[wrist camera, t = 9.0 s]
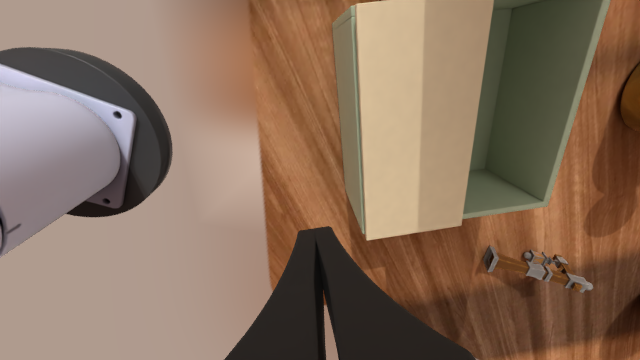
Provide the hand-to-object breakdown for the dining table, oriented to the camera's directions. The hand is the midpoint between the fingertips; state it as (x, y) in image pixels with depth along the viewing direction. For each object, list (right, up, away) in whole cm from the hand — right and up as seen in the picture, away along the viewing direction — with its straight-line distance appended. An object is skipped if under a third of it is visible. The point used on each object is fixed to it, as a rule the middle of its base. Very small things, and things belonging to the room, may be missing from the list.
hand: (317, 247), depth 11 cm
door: (+5, +5, +2) cm, 7 cm away
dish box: (+7, +8, +8) cm, 14 cm away
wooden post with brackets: (+20, -4, +15) cm, 25 cm away
